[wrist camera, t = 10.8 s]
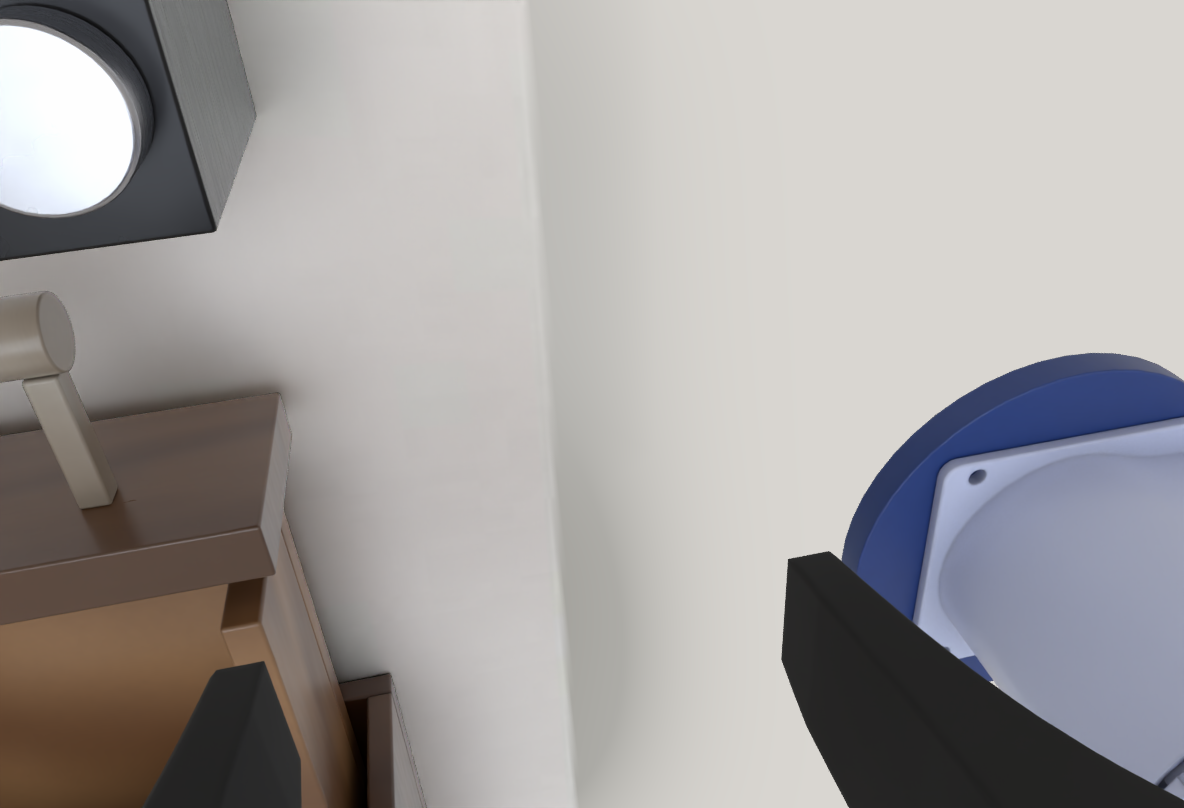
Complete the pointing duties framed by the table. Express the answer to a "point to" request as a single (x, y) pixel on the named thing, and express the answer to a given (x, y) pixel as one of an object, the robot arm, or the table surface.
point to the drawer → (145, 585)
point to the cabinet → (383, 743)
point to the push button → (117, 121)
